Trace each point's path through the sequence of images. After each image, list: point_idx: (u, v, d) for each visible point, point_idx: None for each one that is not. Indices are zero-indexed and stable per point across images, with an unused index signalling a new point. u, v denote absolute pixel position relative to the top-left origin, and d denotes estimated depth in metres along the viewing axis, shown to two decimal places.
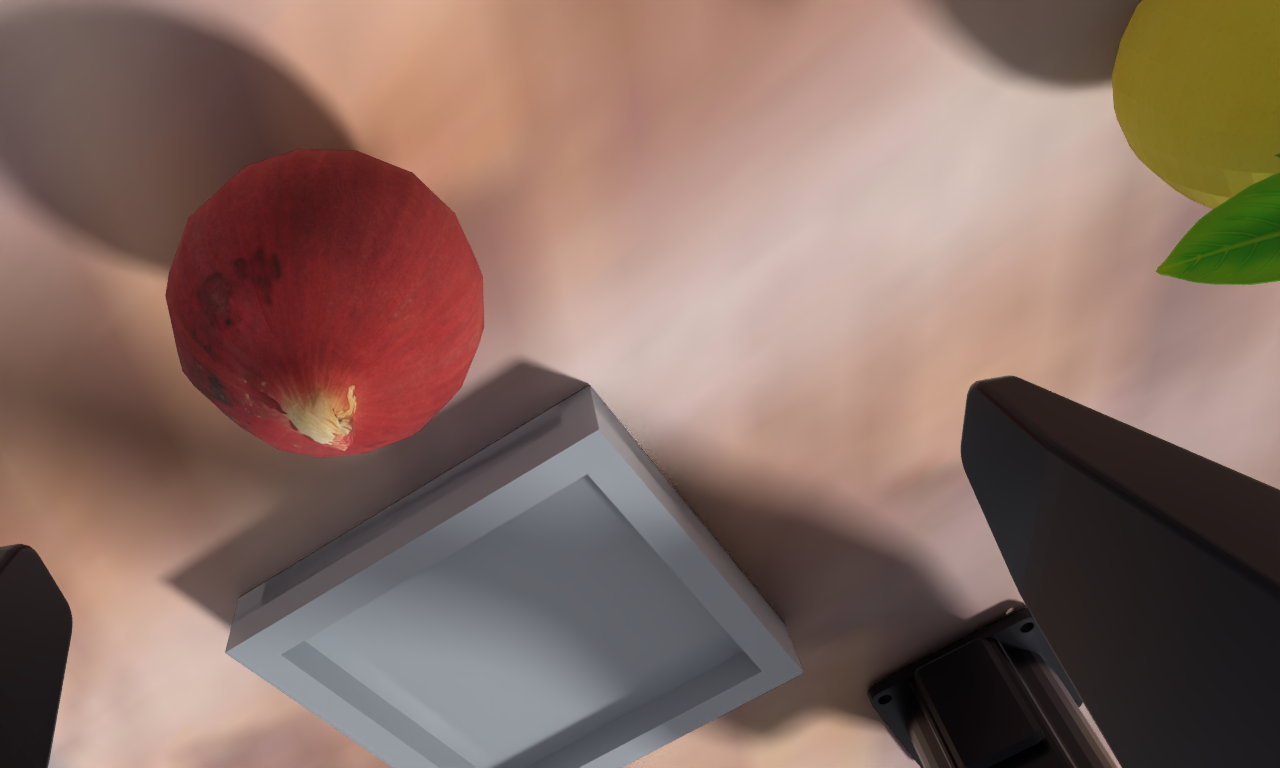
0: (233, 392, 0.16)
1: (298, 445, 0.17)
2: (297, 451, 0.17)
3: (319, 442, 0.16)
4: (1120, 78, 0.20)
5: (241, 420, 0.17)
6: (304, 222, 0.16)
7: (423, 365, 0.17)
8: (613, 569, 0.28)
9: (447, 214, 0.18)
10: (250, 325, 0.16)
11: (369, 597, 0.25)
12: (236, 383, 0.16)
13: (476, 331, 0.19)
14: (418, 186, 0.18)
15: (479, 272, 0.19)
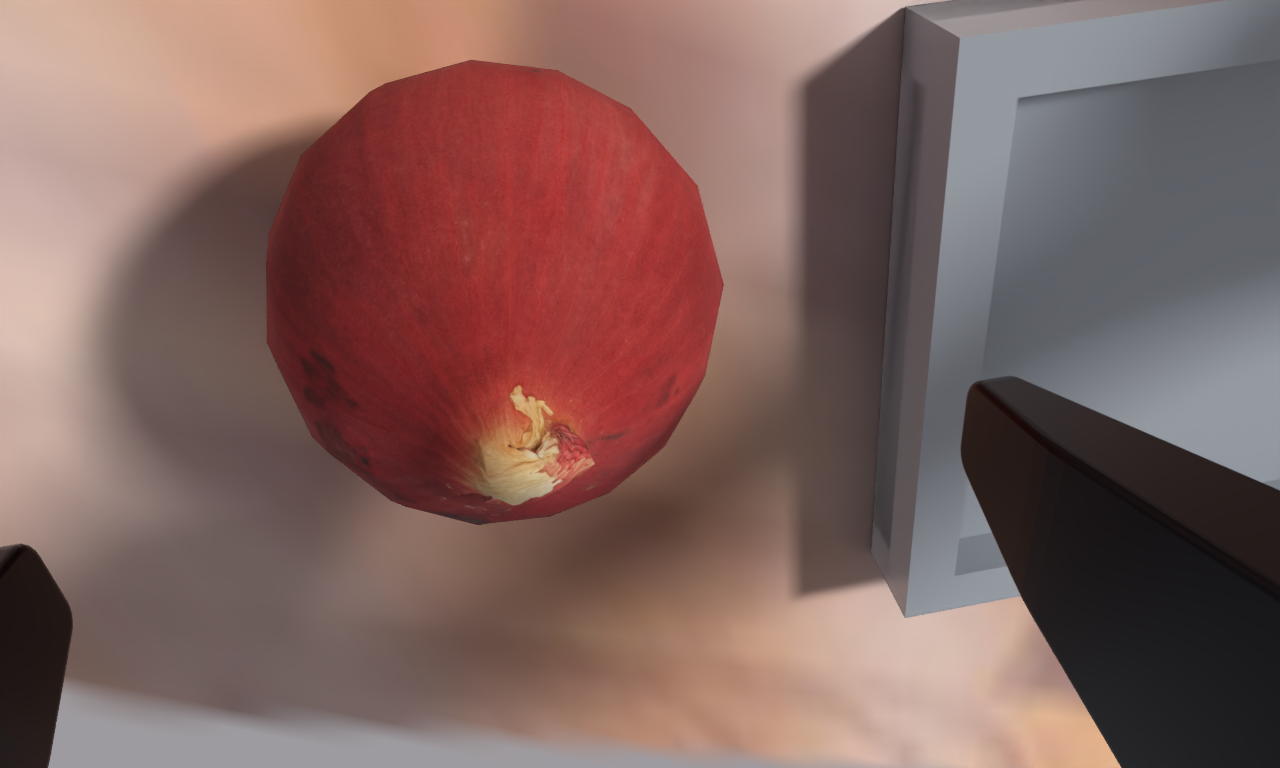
0: (463, 512, 0.11)
1: (591, 484, 0.11)
2: (611, 483, 0.11)
3: (547, 492, 0.09)
4: None
5: (521, 518, 0.11)
6: (297, 285, 0.10)
7: (577, 265, 0.10)
8: (1209, 143, 0.16)
9: (439, 75, 0.11)
10: (374, 445, 0.10)
11: None
12: (446, 506, 0.11)
13: (619, 144, 0.11)
14: (378, 91, 0.11)
15: (551, 81, 0.11)
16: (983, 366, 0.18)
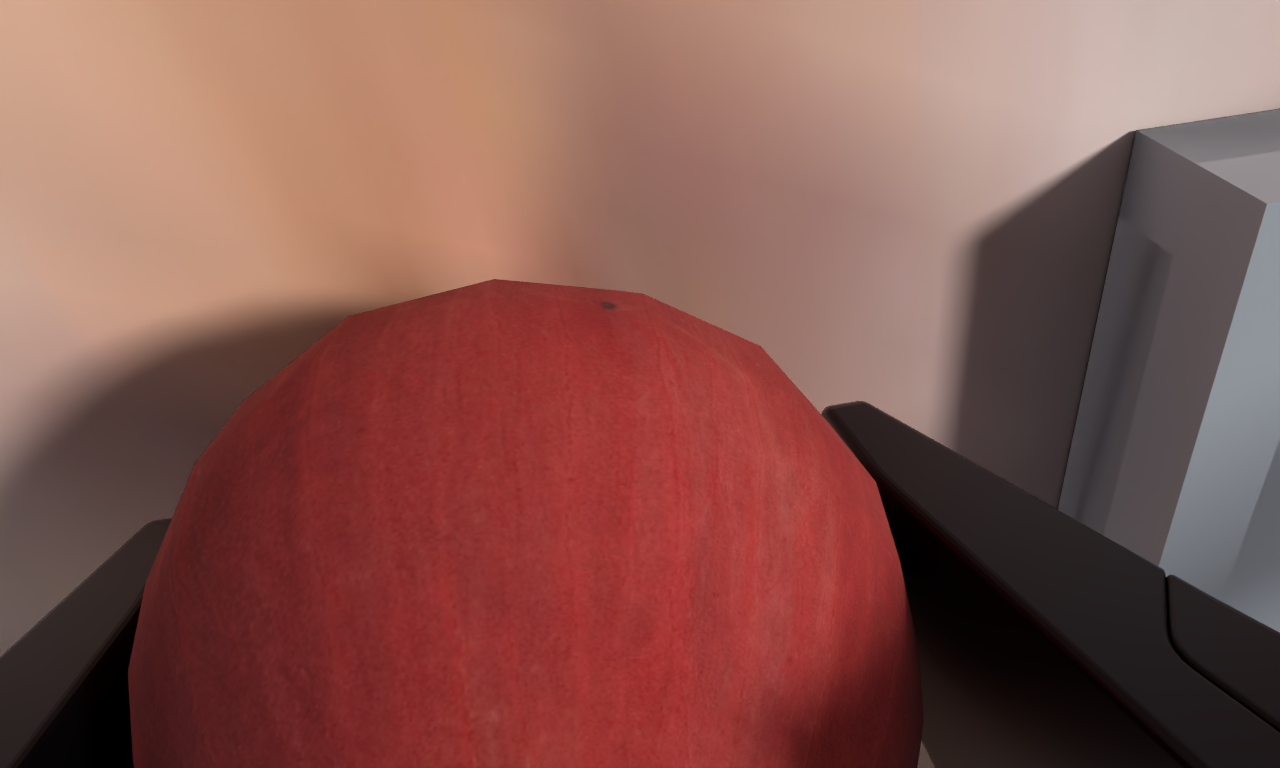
0: None
1: None
2: None
3: None
4: None
5: None
6: None
7: None
8: None
9: (441, 334, 0.06)
10: None
11: None
12: None
13: (773, 474, 0.06)
14: (330, 362, 0.06)
15: (642, 342, 0.06)
16: None
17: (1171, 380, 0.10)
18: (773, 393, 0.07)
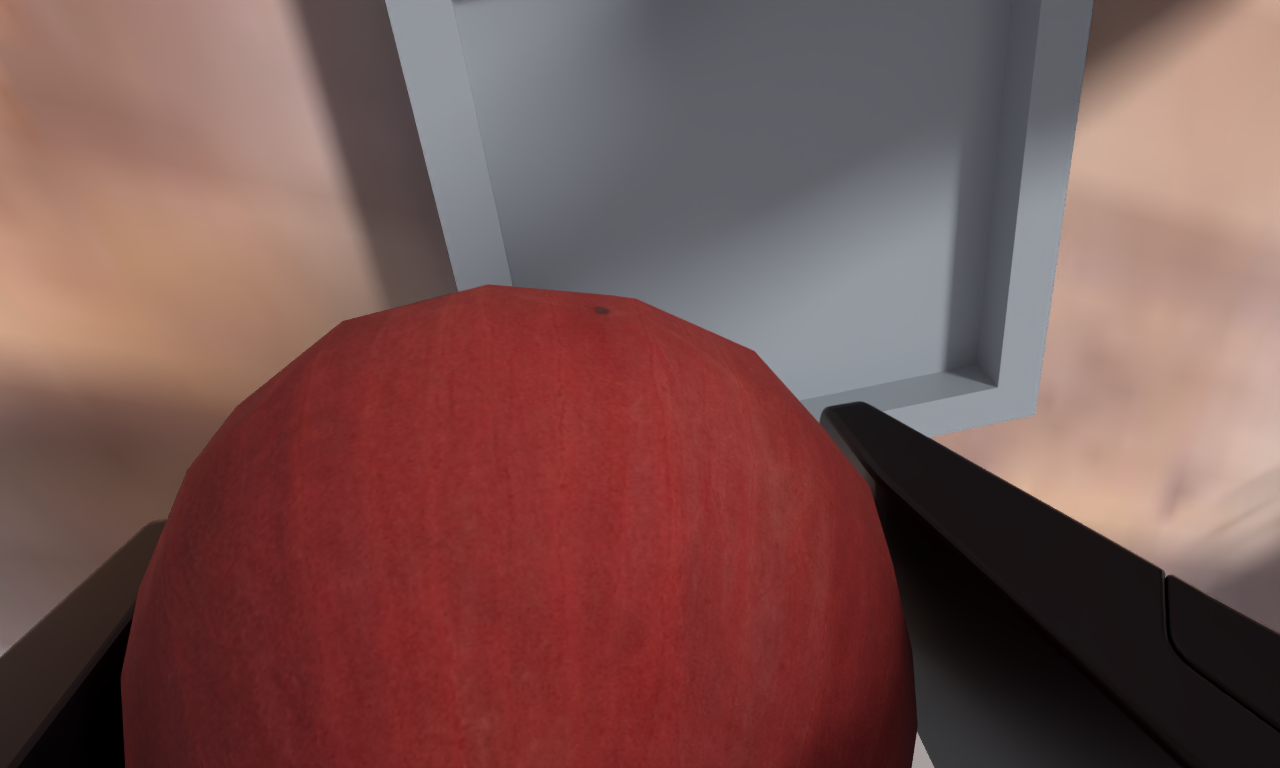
0: None
1: None
2: None
3: None
4: None
5: None
6: None
7: None
8: (703, 34, 0.17)
9: (433, 340, 0.06)
10: None
11: None
12: None
13: (765, 479, 0.06)
14: (323, 368, 0.06)
15: (635, 348, 0.06)
16: (540, 267, 0.19)
17: None
18: (766, 398, 0.07)
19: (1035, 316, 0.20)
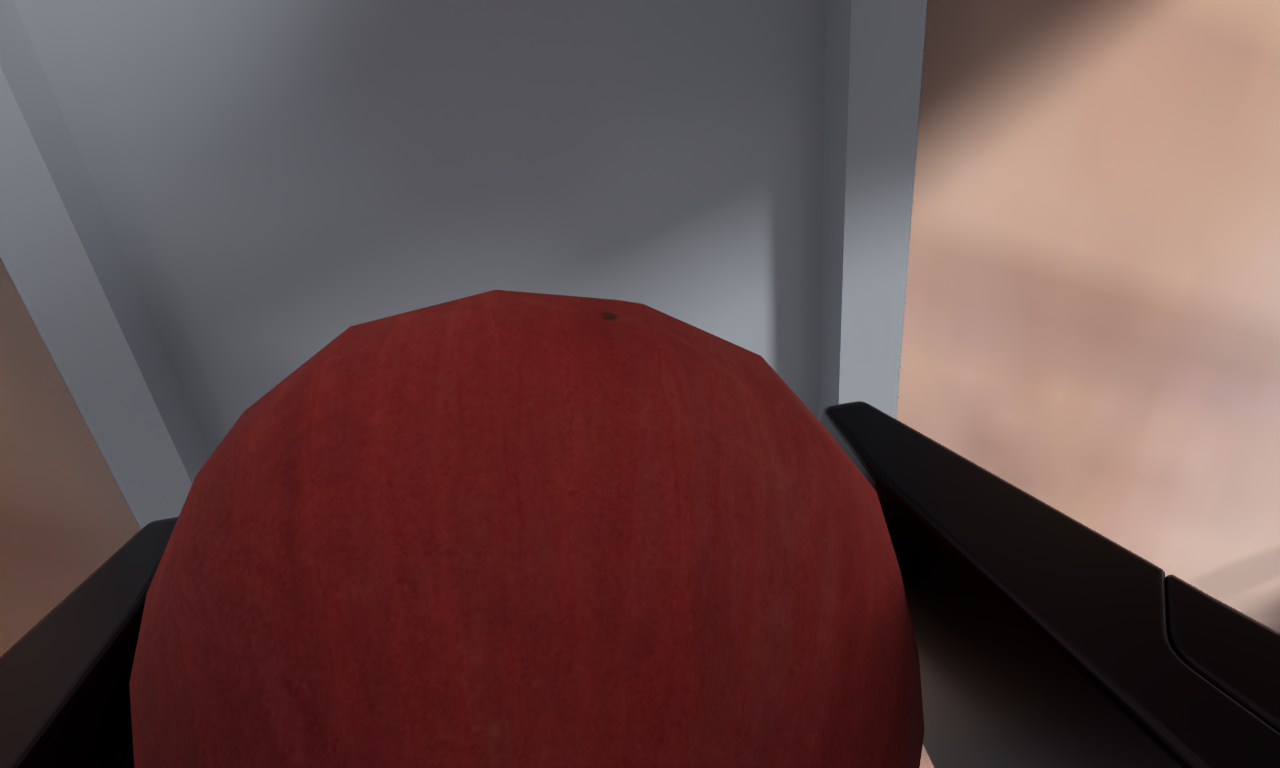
0: None
1: None
2: None
3: None
4: None
5: None
6: None
7: None
8: (382, 19, 0.12)
9: (442, 346, 0.06)
10: None
11: (163, 446, 0.14)
12: None
13: (774, 485, 0.06)
14: (331, 374, 0.06)
15: (642, 354, 0.06)
16: (199, 326, 0.14)
17: None
18: (773, 404, 0.07)
19: (878, 403, 0.16)
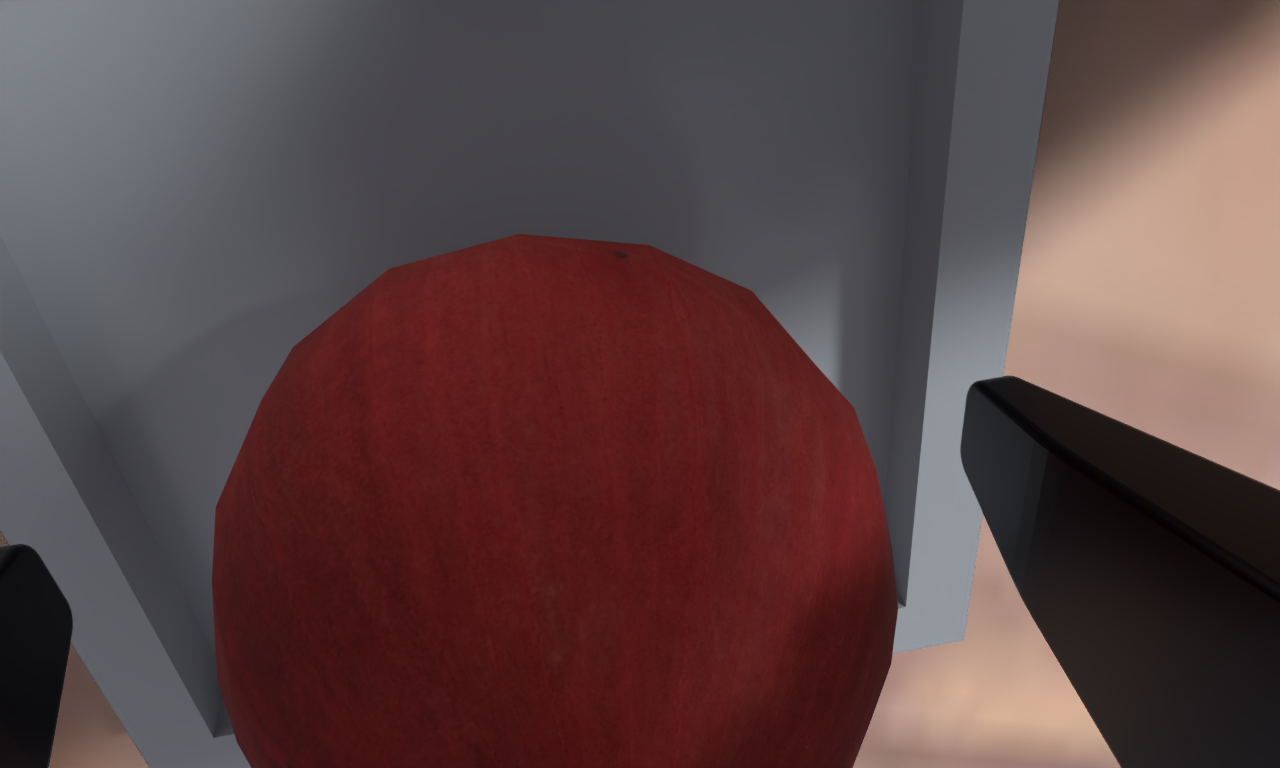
0: None
1: None
2: None
3: None
4: None
5: None
6: (263, 655, 0.06)
7: (736, 643, 0.06)
8: (374, 74, 0.10)
9: (480, 281, 0.07)
10: None
11: (112, 578, 0.12)
12: None
13: (771, 395, 0.07)
14: (383, 307, 0.07)
15: (655, 286, 0.07)
16: (155, 433, 0.12)
17: None
18: (766, 329, 0.08)
19: (960, 513, 0.13)
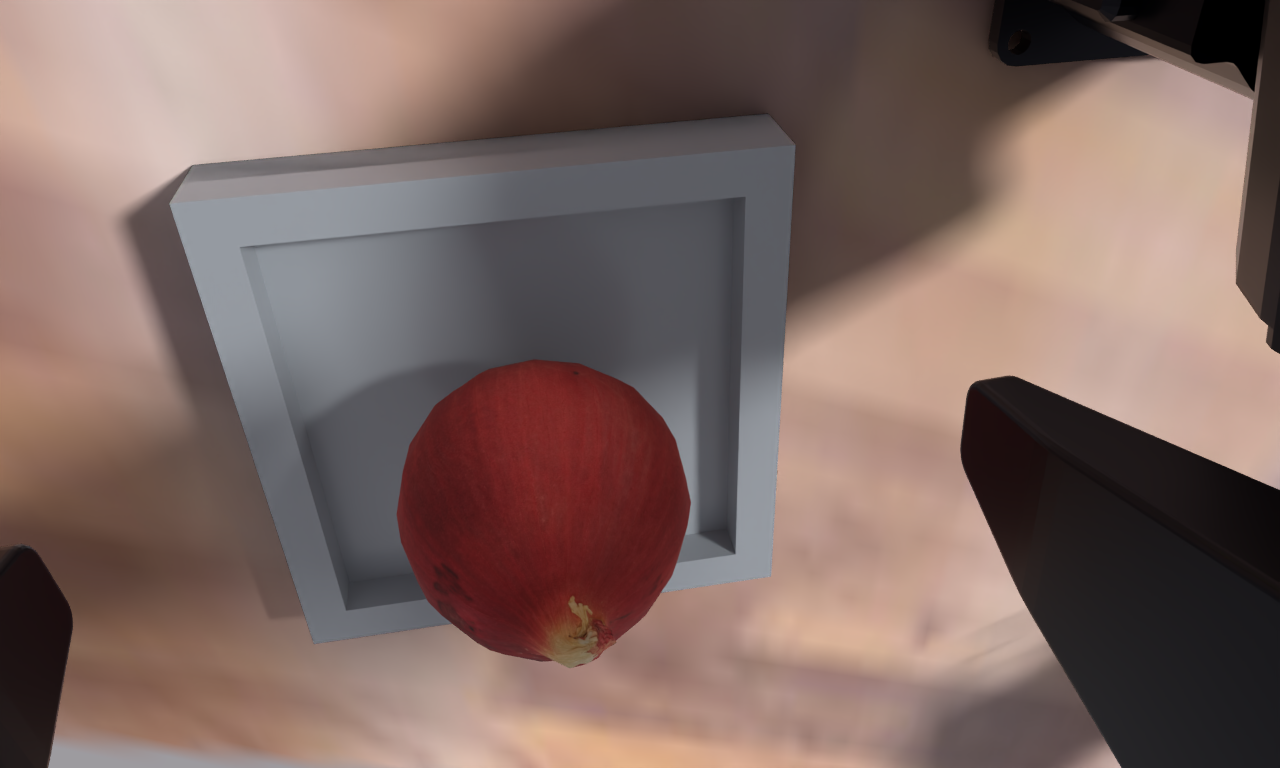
0: (529, 658, 0.18)
1: None
2: (619, 636, 0.18)
3: (589, 661, 0.16)
4: None
5: None
6: (434, 523, 0.17)
7: (607, 521, 0.17)
8: (469, 277, 0.21)
9: (518, 384, 0.18)
10: (480, 621, 0.17)
11: (311, 516, 0.22)
12: (520, 656, 0.18)
13: (630, 432, 0.18)
14: (480, 392, 0.18)
15: (587, 387, 0.18)
16: (336, 442, 0.22)
17: None
18: (634, 405, 0.19)
19: (762, 501, 0.24)
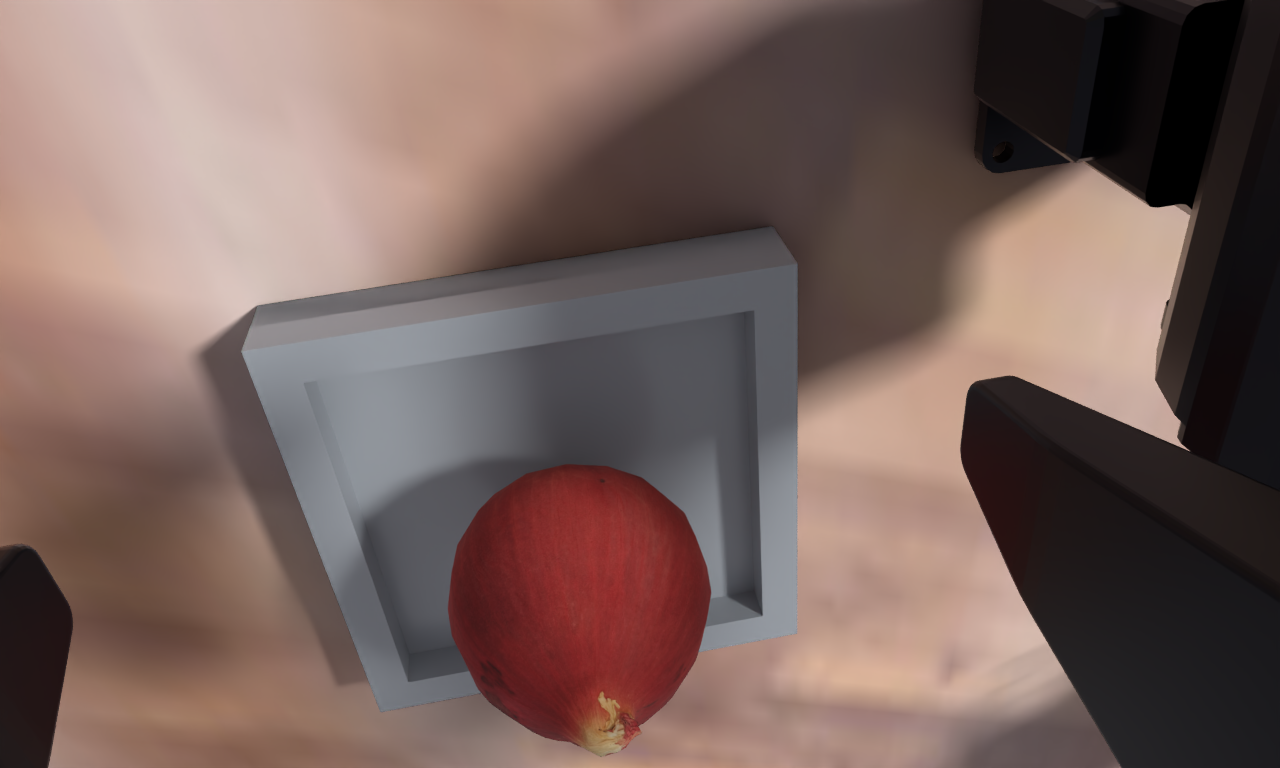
0: (567, 741, 0.20)
1: (638, 724, 0.20)
2: (648, 718, 0.20)
3: (618, 750, 0.18)
4: None
5: None
6: (479, 625, 0.19)
7: (630, 622, 0.19)
8: (506, 389, 0.23)
9: (550, 495, 0.20)
10: (522, 712, 0.19)
11: (374, 603, 0.25)
12: (559, 740, 0.20)
13: (651, 537, 0.20)
14: (516, 504, 0.20)
15: (612, 496, 0.20)
16: (393, 535, 0.25)
17: None
18: (655, 509, 0.21)
19: (785, 569, 0.26)
